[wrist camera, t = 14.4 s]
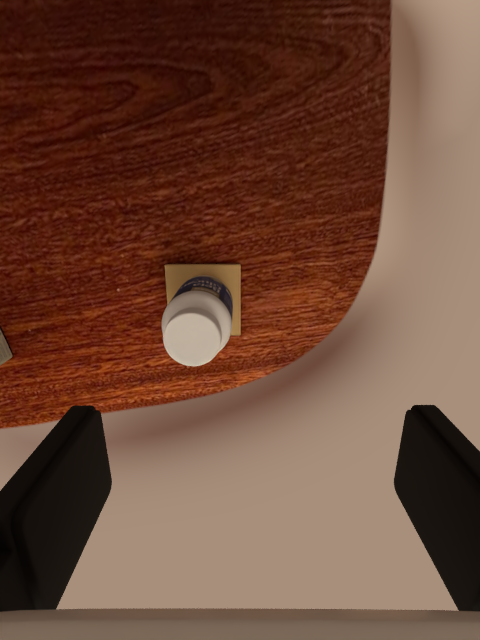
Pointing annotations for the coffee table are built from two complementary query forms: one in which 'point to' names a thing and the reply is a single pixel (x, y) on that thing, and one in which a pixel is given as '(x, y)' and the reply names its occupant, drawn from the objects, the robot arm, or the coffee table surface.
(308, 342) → the coffee table surface
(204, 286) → the pill bottle
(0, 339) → the cosmetic box
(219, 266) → the mat
